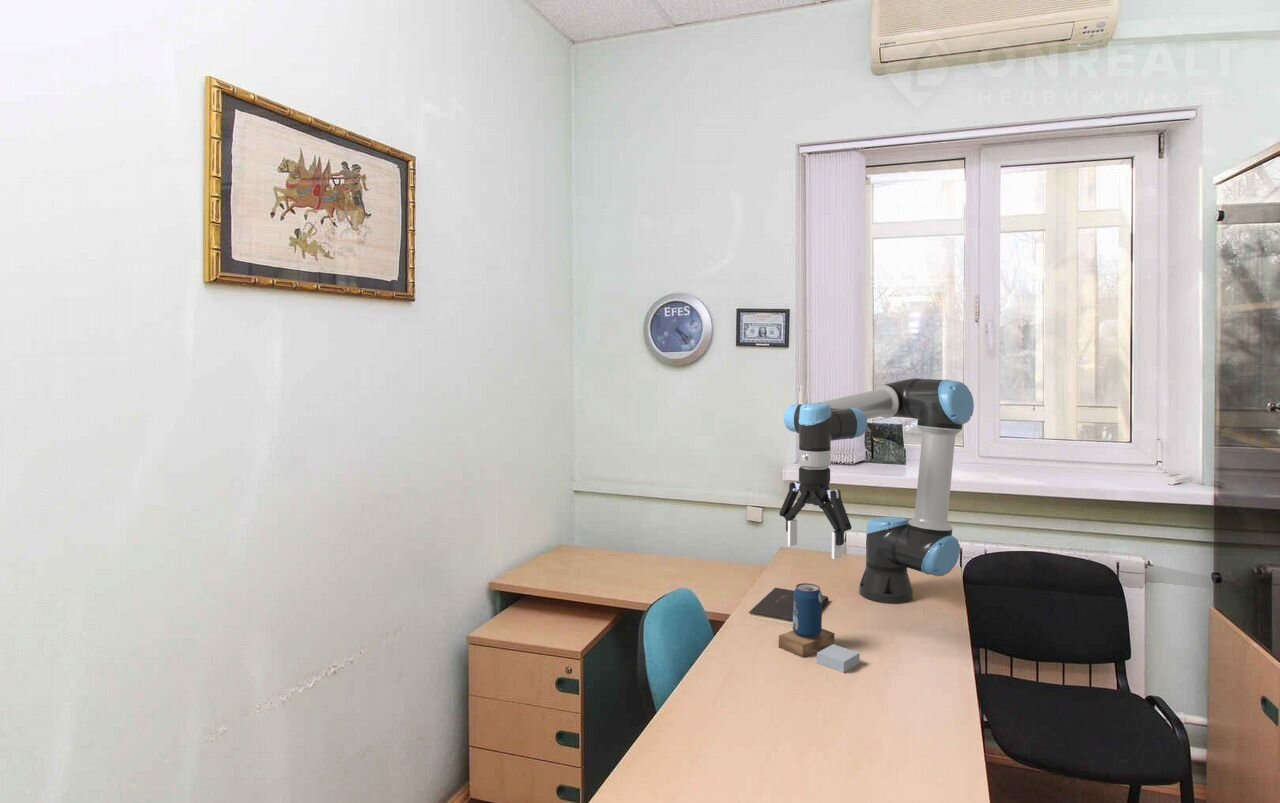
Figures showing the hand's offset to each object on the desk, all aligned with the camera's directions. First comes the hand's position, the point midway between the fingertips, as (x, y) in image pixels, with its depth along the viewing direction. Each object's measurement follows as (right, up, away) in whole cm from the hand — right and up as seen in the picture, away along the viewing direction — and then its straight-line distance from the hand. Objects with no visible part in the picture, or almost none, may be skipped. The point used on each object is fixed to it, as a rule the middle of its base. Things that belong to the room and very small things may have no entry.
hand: (813, 551), depth 184 cm
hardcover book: (-1, -22, +25) cm, 33 cm away
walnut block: (-2, -23, 0) cm, 23 cm away
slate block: (+3, -25, -10) cm, 27 cm away
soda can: (-2, -21, 0) cm, 21 cm away
